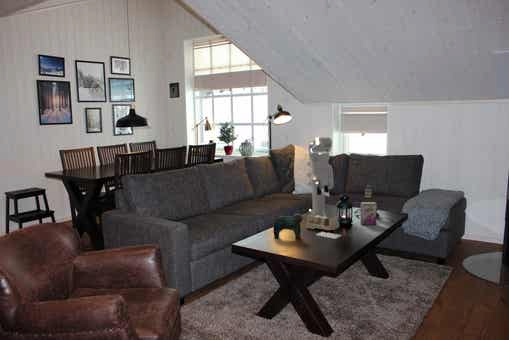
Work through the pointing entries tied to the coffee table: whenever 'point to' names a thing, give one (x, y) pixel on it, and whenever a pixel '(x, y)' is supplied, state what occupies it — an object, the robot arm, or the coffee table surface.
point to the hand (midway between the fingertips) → (322, 193)
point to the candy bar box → (368, 213)
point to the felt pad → (328, 235)
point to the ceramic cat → (288, 224)
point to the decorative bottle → (367, 197)
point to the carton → (332, 225)
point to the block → (321, 220)
